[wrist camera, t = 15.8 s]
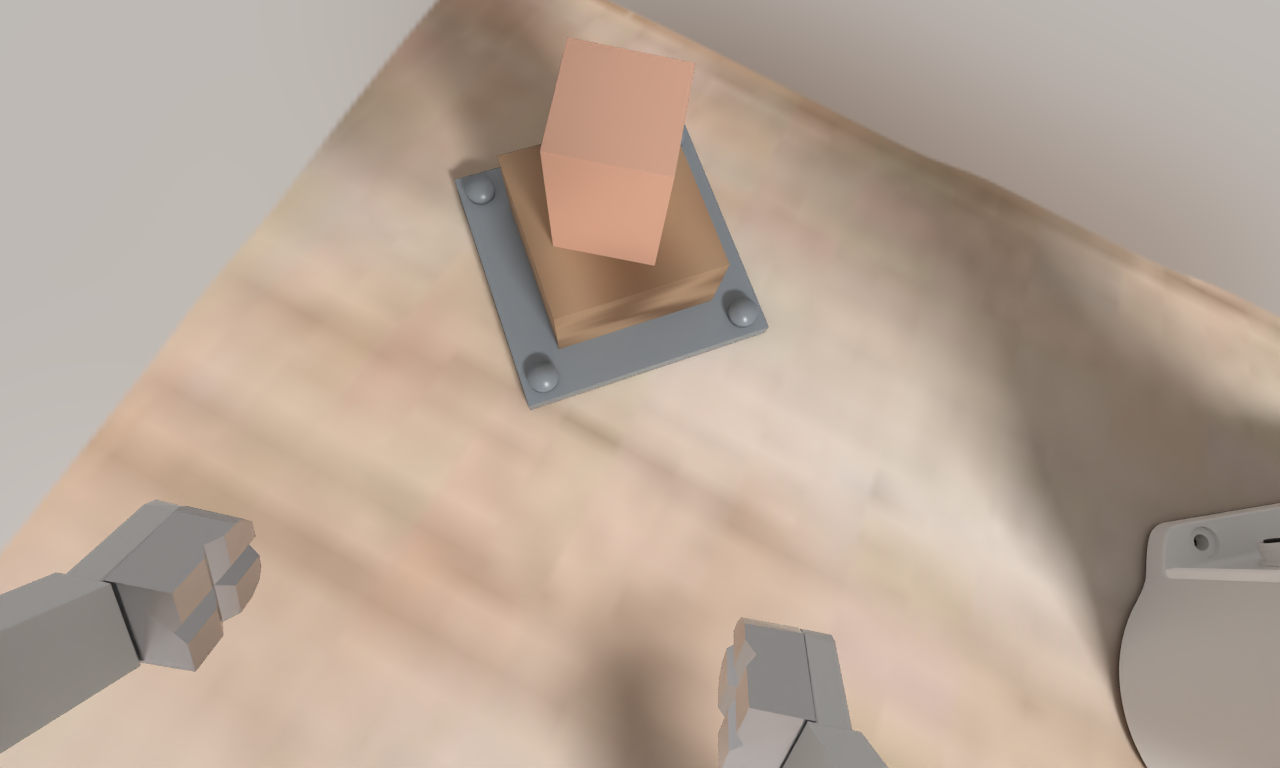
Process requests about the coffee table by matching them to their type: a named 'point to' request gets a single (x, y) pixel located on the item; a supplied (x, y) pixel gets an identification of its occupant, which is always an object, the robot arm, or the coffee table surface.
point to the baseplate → (614, 353)
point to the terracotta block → (613, 148)
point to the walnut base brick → (614, 259)
